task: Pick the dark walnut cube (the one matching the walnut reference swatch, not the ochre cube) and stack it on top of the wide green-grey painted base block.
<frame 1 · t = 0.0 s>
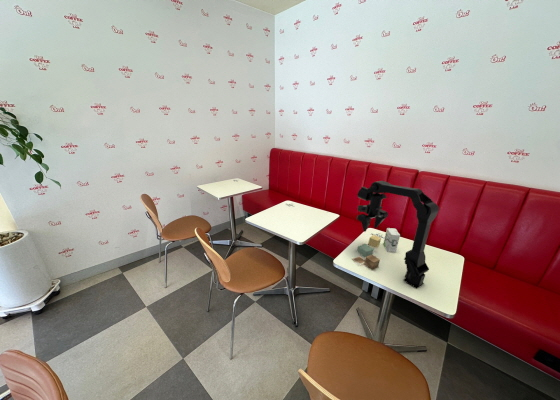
hand: (369, 229, 121), 15 cm above the table, fingers open, 9 cm apart
walnut cube: (371, 266, 114), on the table
reference swatch: (359, 260, 118), on the table
ochre cube: (373, 244, 133), on the table
base block: (364, 253, 125), on the table
ink box: (389, 248, 130), on the table
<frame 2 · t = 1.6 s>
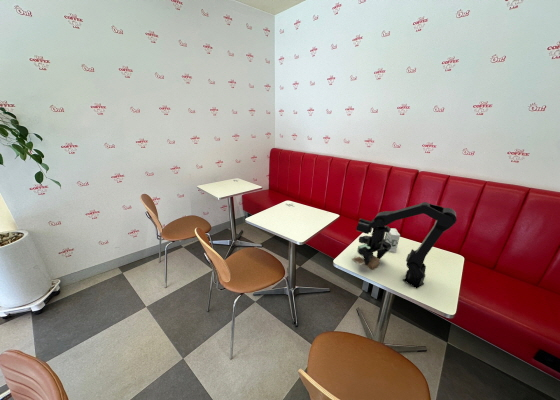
hand: (372, 262, 113), 2 cm above the table, fingers open, 9 cm apart
nothing on the table moved.
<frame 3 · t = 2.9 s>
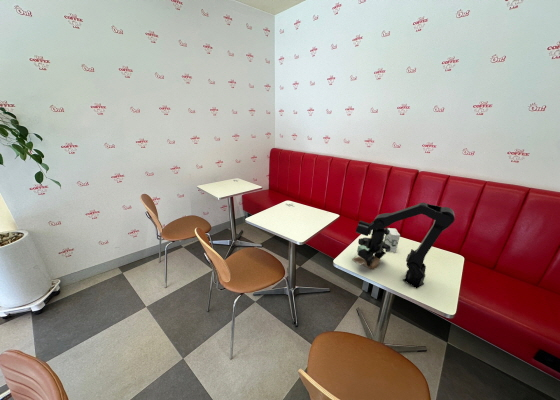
hand: (371, 264, 114), 1 cm above the table, fingers closed on walnut cube, 5 cm apart
walnut cube: (371, 265, 114), on the table, touching gripper
everything else where it was.
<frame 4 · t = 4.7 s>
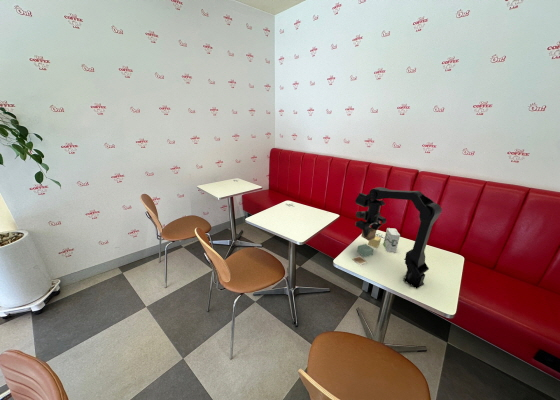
hand: (368, 235, 120), 12 cm above the table, fingers closed on walnut cube, 5 cm apart
walnut cube: (367, 237, 121), point 11 cm above the table, touching gripper
everything else where it was.
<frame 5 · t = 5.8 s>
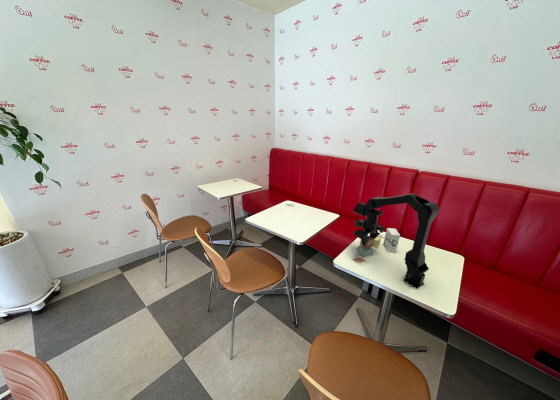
hand: (366, 244, 122), 6 cm above the table, fingers closed on walnut cube, 5 cm apart
walnut cube: (366, 245, 123), point 5 cm above the table, touching gripper
everything else where it was.
when the fingers open (6 cm above the table, at t = 6.5 s): walnut cube drops 1 cm, point 4 cm above the table.
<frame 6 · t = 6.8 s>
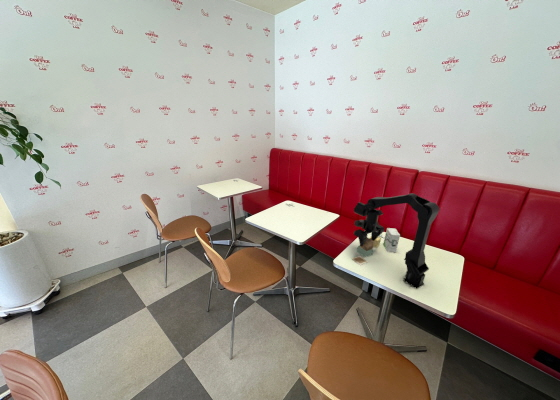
hand: (366, 244, 122), 6 cm above the table, fingers open, 9 cm apart
walnut cube: (366, 247, 123), point 4 cm above the table
everything else where it was.
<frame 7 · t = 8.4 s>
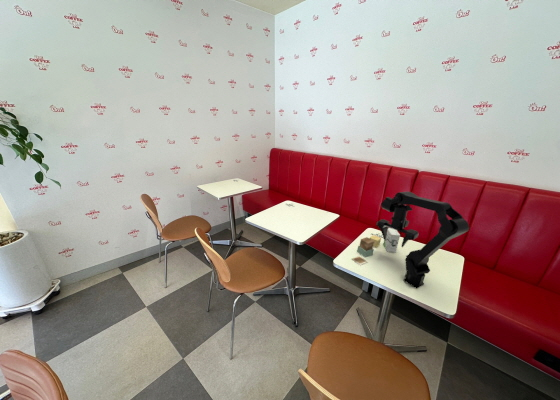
hand: (393, 243, 113), 12 cm above the table, fingers open, 9 cm apart
walnut cube: (365, 247, 123), point 4 cm above the table, touching base block
base block: (364, 253, 125), on the table, touching walnut cube
everything else where it was.
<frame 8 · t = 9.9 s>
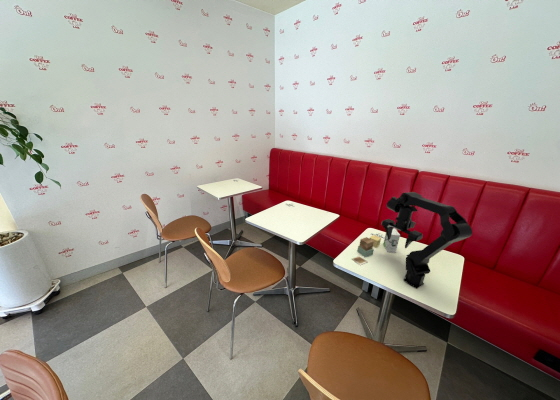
hand: (397, 243, 112), 13 cm above the table, fingers open, 9 cm apart
nothing on the table moved.
at the end: walnut cube 0.3 cm off-centre on the base block, point 4.0 cm above the base block's base; walnut cube tilted 0°; the gripper is holding nothing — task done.
